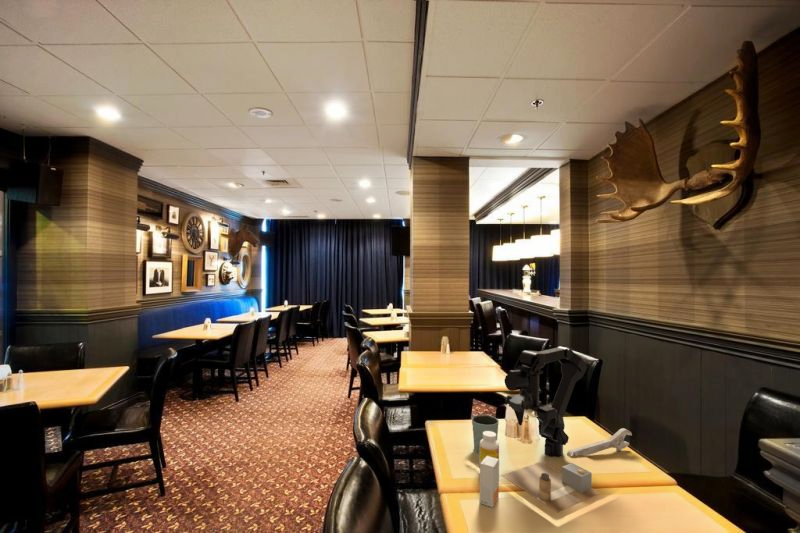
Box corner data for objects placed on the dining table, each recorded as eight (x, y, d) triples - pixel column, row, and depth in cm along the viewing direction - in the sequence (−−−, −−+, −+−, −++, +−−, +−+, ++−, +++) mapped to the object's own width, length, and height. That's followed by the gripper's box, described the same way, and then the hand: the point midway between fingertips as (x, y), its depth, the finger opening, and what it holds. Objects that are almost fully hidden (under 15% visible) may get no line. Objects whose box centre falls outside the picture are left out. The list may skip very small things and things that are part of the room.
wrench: (567, 465, 141) (629, 446, 150) (571, 468, 140) (633, 448, 148) (565, 444, 141) (627, 426, 150) (569, 446, 139) (631, 428, 148)
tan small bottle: (544, 494, 115) (544, 471, 116) (553, 500, 113) (553, 476, 113) (537, 497, 114) (537, 473, 114) (545, 503, 111) (545, 479, 111)
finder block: (571, 478, 125) (571, 461, 125) (591, 488, 119) (591, 471, 119) (562, 482, 123) (562, 465, 123) (581, 493, 116) (581, 475, 117)
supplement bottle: (499, 476, 127) (499, 438, 128) (479, 474, 129) (479, 436, 129) (498, 466, 134) (498, 430, 134) (479, 464, 135) (479, 428, 136)
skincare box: (492, 508, 110) (493, 467, 111) (479, 503, 113) (479, 463, 113) (499, 497, 116) (499, 458, 116) (485, 493, 118) (486, 455, 118)
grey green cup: (501, 448, 148) (501, 418, 148) (493, 459, 139) (493, 427, 139) (477, 442, 153) (477, 412, 153) (467, 452, 145) (467, 420, 145)
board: (542, 464, 136) (542, 461, 136) (600, 496, 117) (600, 492, 117) (501, 478, 126) (501, 475, 126) (557, 516, 107) (557, 512, 107)
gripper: (495, 382, 140) (495, 424, 140) (536, 397, 124) (535, 445, 124) (517, 378, 146) (516, 419, 146) (558, 392, 130) (558, 438, 129)
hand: (530, 429), depth 136 cm, fingers open, 9 cm apart
